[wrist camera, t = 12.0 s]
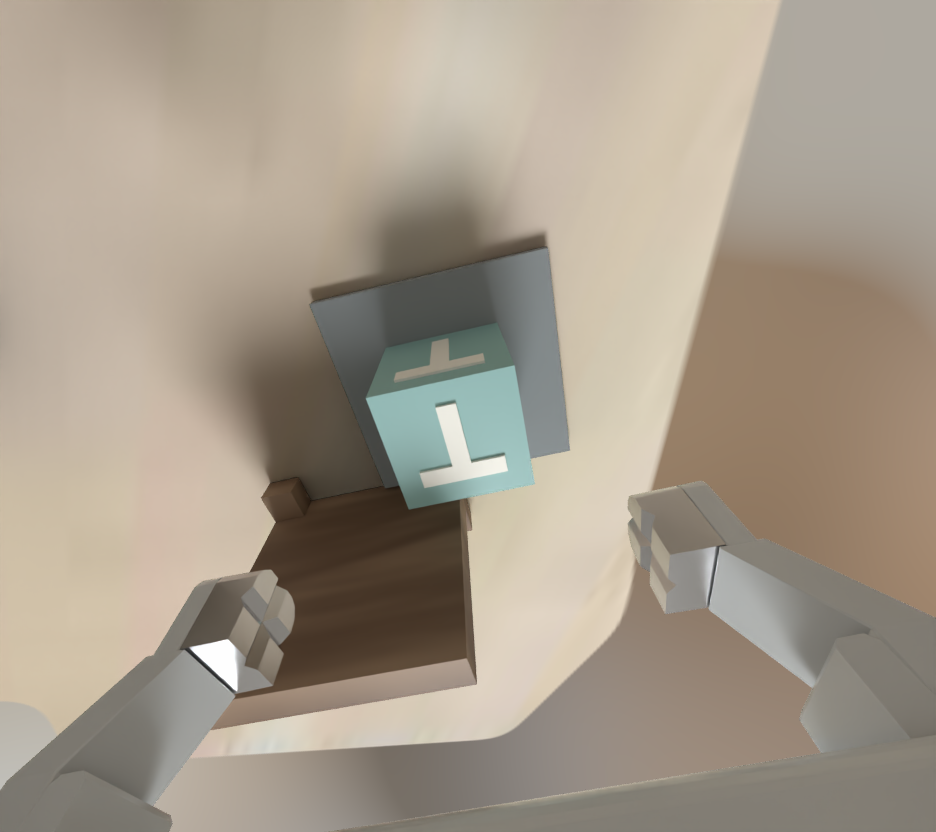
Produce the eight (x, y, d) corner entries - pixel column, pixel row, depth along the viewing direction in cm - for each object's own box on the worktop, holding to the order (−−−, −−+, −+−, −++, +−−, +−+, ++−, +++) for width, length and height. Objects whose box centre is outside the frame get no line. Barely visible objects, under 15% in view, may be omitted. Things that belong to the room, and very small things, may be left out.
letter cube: (384, 345, 17) (364, 397, 13) (496, 320, 17) (514, 363, 13) (416, 440, 20) (408, 511, 15) (514, 420, 20) (535, 485, 15)
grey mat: (312, 301, 17) (309, 304, 16) (545, 246, 16) (547, 247, 16) (386, 482, 22) (385, 488, 21) (567, 445, 21) (569, 450, 21)
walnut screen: (270, 483, 21) (147, 682, 13) (450, 445, 21) (454, 626, 12) (307, 547, 24) (227, 752, 15) (470, 515, 23) (486, 709, 14)
